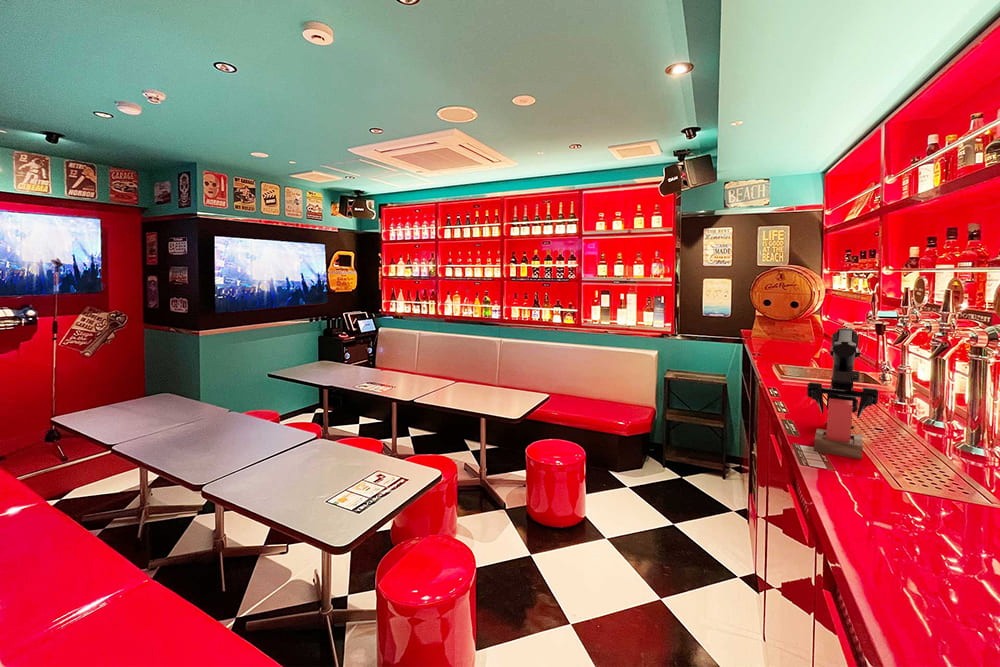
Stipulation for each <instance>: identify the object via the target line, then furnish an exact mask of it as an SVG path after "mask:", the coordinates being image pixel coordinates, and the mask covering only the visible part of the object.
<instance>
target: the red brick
mask: <svg viewBox="0 0 1000 667" xmlns="http://www.w3.org/2000/svg"><path fill="white" fill-rule="evenodd" d="M852 408H853V407H852V401H849V400H840V399H831V398H829V402H828V409H827V420H826V422H827V424H826V430H827V434H826V439H830V440H837V441H843V442H850V434H852V433H851V429H852V428H851V425H852V423H851V419H852V420H853V412H852Z"/></svg>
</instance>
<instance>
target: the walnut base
mask: <svg viewBox="0 0 1000 667" xmlns="http://www.w3.org/2000/svg"><path fill="white" fill-rule="evenodd" d="M826 434H827V429H823V428H822V429H821V428H816V431H815V434H814V442H813V443H814V444H813V452H816V453H822V454H827V455H828V454H829V455H834V456H840V457H846V458H852V459H858V460H862V459H863V448H864V445H863V435H861V434H856V433H855V434H854V433H850V442H843V441H837V440H830V439H826Z"/></svg>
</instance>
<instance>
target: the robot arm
mask: <svg viewBox="0 0 1000 667" xmlns="http://www.w3.org/2000/svg"><path fill="white" fill-rule="evenodd" d="M859 342H860V335H859V334H858V333H856V332H855V329H854V328H848V327H847V328H843V327H840V328H837V331H836V332H834V333H832V335H831V346H830V357H832V362H833V363H832V374H831V381H830V387H823V386H822V385H823V383H821V382H807V388H806V389H807V390H806V393H807V394H806V395H807V397H808V398H811V399H812V400H814V401H815V402H816V403H817V406H818V408H819V410H820V412H821V414H822V415H823V414H824V409H825V408H824V399H823V397H824V396H823V395H824V394H826V410H828V402H829V398H831V399H840V400H849V401H852V414H853V413H854V414H855V413H857V415H856V418H857V419H859V418H860V417H861V415H862V414H863V412H864V411H865V409H867V408H868V407H871V406H873V405H874V406H875V405H878V399H879V390H878V389H877V388H873V387H864V386H863V387H862V391H860V390H855V389H854V382H855V383H859V382H860V371H858V370H854V369H855V361H856V359H858V358H859V357H861V350H860V349H859ZM857 398H858V399H857ZM859 398H860V399H859ZM858 403H859V404H858ZM852 422H853V418H852V419H851V429H854V428H855V426H854V425H852ZM824 424H825V425H827V421H825V422H824Z"/></svg>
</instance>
